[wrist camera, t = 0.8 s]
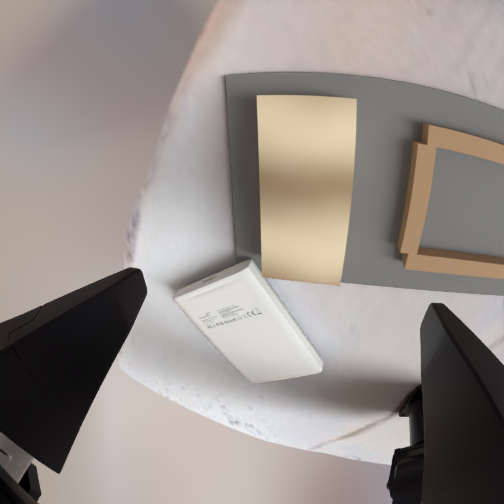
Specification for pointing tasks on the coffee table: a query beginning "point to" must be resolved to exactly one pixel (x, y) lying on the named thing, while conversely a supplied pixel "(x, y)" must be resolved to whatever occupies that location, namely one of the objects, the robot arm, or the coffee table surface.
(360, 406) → the coffee table surface
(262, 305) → the external hard drive
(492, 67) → the coffee table surface
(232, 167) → the mat
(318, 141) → the beech tile
